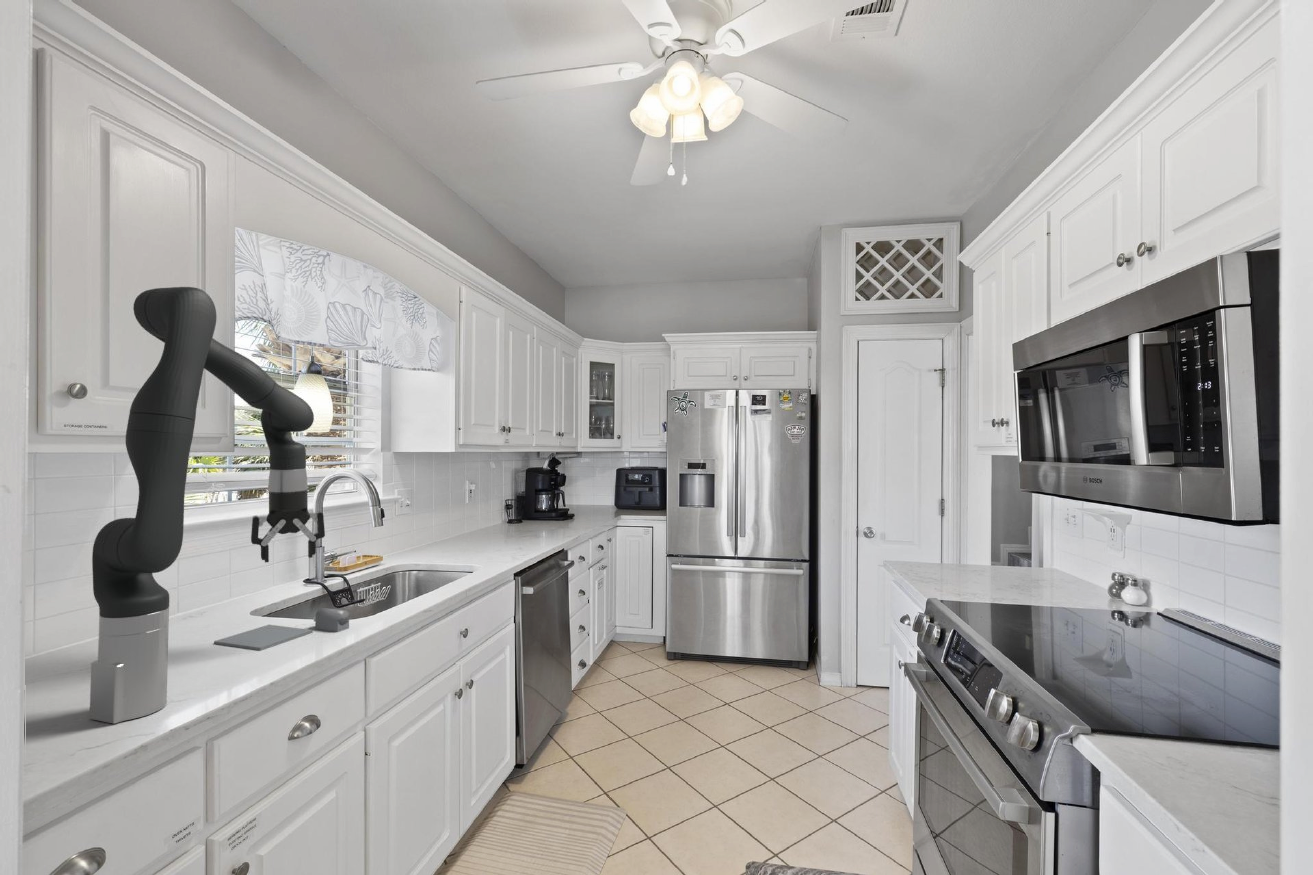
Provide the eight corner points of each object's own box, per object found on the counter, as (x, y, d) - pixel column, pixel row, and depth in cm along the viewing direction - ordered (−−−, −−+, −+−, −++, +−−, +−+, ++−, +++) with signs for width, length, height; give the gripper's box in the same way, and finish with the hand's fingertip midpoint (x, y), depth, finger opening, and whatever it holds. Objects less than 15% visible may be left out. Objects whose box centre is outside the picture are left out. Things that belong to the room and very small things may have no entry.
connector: (337, 632, 149) (338, 612, 149) (311, 629, 152) (311, 609, 152) (348, 628, 153) (349, 608, 153) (323, 625, 155) (323, 606, 155)
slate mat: (260, 650, 135) (260, 647, 135) (214, 643, 139) (214, 641, 139) (312, 632, 149) (312, 630, 149) (268, 626, 153) (268, 624, 153)
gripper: (251, 492, 130) (251, 567, 130) (326, 488, 138) (326, 558, 139) (250, 488, 136) (250, 560, 137) (321, 485, 144) (322, 552, 145)
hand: (289, 559), depth 138 cm, fingers open, 8 cm apart
